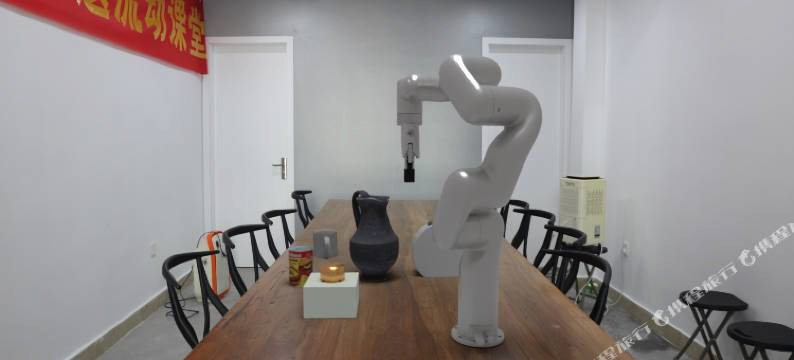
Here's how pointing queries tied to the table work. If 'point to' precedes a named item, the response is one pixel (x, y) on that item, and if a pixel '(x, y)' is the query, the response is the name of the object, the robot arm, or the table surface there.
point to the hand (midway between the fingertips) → (409, 182)
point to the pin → (332, 272)
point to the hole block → (331, 297)
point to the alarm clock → (433, 255)
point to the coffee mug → (325, 243)
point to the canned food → (300, 265)
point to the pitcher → (372, 237)
